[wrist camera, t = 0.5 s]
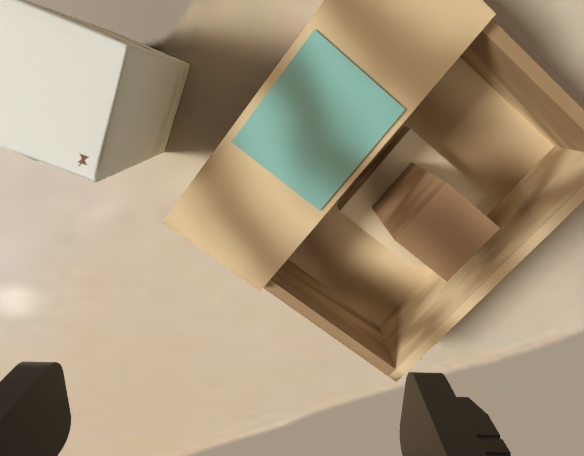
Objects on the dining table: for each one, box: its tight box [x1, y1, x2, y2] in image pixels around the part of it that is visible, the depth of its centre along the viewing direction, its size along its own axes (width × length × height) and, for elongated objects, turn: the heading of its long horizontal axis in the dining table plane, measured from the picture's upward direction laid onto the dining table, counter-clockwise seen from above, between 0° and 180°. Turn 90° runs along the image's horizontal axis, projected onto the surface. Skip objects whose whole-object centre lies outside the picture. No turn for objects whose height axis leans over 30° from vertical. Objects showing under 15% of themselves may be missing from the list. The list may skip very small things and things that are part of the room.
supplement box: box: [0, 0, 190, 182], centre depth 26 cm, size 7×7×13 cm
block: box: [372, 162, 500, 282], centre depth 29 cm, size 4×4×8 cm
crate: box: [163, 0, 584, 382], centre depth 30 cm, size 22×21×8 cm
